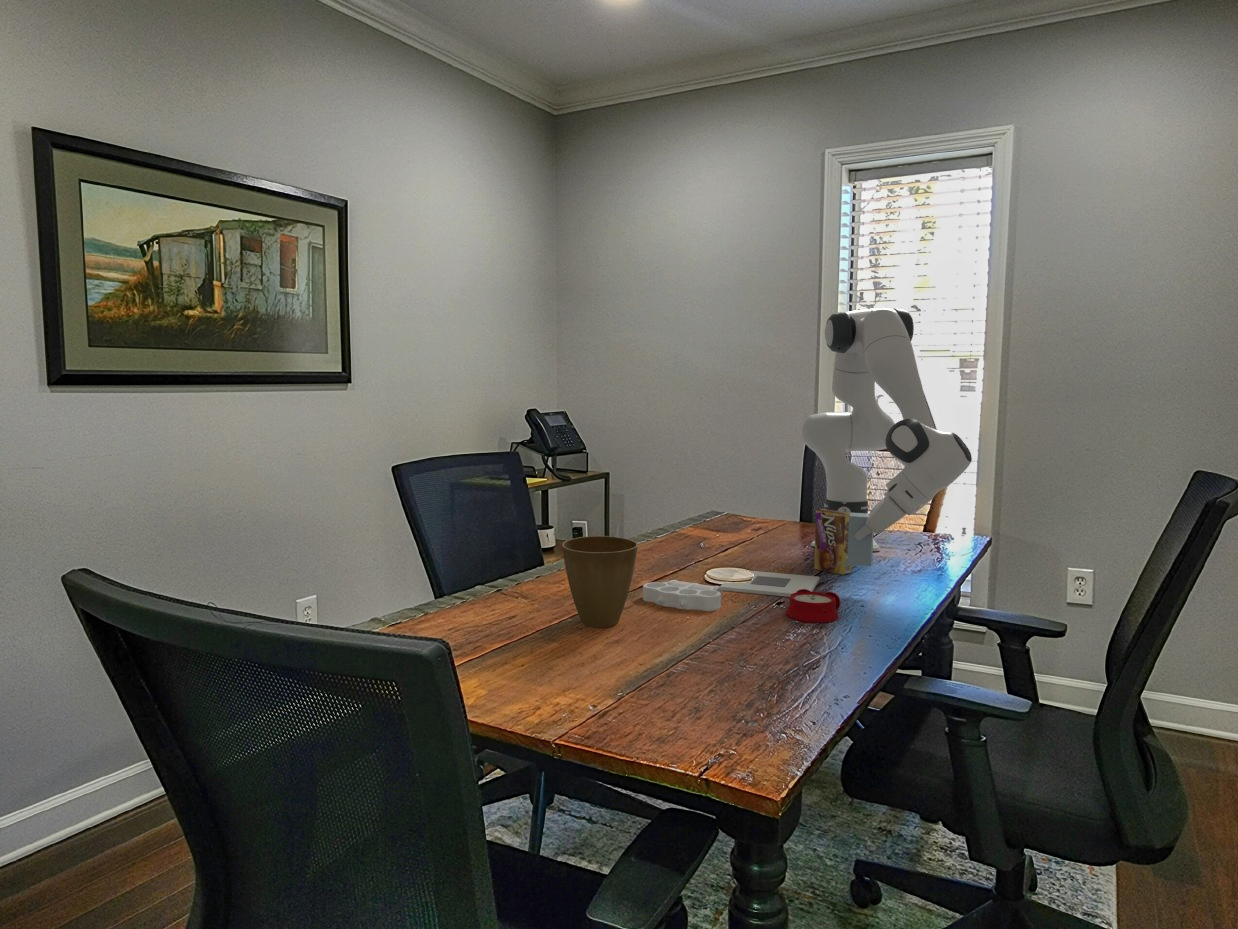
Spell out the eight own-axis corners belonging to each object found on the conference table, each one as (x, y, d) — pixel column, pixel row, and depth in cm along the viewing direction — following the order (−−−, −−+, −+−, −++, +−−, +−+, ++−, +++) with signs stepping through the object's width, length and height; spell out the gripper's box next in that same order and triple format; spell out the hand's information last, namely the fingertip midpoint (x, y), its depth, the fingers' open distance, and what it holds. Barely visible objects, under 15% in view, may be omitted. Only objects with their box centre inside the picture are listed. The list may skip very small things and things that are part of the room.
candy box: (853, 572, 201) (855, 512, 200) (842, 575, 198) (844, 514, 197) (823, 566, 208) (825, 508, 206) (813, 568, 205) (815, 509, 204)
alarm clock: (780, 604, 160) (795, 571, 173) (781, 631, 162) (796, 597, 175) (833, 610, 156) (845, 576, 169) (833, 638, 158) (845, 603, 171)
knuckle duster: (735, 600, 177) (707, 617, 164) (663, 589, 186) (631, 604, 174) (736, 585, 177) (707, 601, 164) (663, 575, 186) (631, 589, 173)
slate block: (849, 559, 184) (851, 512, 183) (872, 561, 183) (874, 513, 181) (847, 564, 180) (849, 516, 179) (870, 566, 178) (872, 517, 177)
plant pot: (547, 621, 160) (546, 542, 159) (605, 607, 170) (605, 533, 168) (593, 639, 149) (593, 554, 147) (653, 623, 159) (653, 544, 157)
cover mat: (737, 572, 201) (737, 569, 201) (819, 580, 194) (819, 576, 194) (719, 590, 184) (719, 586, 184) (808, 598, 177) (808, 594, 177)
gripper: (897, 477, 186) (852, 516, 191) (893, 489, 167) (843, 532, 172) (917, 498, 185) (871, 536, 190) (915, 512, 166) (864, 554, 171)
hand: (858, 534), depth 181 cm, fingers closed on slate block, 5 cm apart
